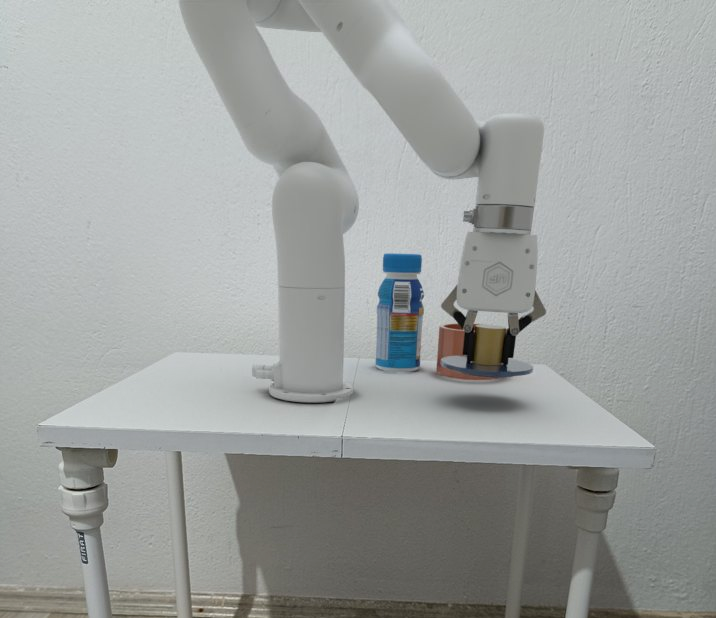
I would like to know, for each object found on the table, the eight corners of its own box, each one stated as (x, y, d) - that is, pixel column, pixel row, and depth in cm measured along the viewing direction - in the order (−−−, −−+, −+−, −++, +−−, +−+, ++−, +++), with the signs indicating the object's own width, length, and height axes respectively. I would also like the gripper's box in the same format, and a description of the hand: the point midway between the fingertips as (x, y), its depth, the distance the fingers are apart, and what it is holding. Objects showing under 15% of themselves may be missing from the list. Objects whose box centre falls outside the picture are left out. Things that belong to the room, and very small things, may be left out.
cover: (439, 376, 88) (443, 329, 86) (440, 360, 100) (444, 318, 98) (537, 383, 86) (544, 335, 84) (527, 366, 98) (533, 324, 96)
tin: (435, 381, 112) (438, 329, 109) (437, 368, 123) (440, 322, 120) (505, 384, 110) (510, 332, 107) (500, 372, 121) (505, 324, 118)
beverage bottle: (365, 368, 121) (368, 253, 115) (393, 363, 127) (398, 253, 121) (402, 374, 116) (407, 254, 109) (429, 369, 122) (436, 254, 115)
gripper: (437, 218, 84) (425, 362, 90) (573, 224, 82) (551, 371, 88) (438, 219, 91) (427, 353, 97) (564, 225, 89) (544, 361, 95)
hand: (486, 360), depth 93 cm, fingers closed on cover, 4 cm apart
